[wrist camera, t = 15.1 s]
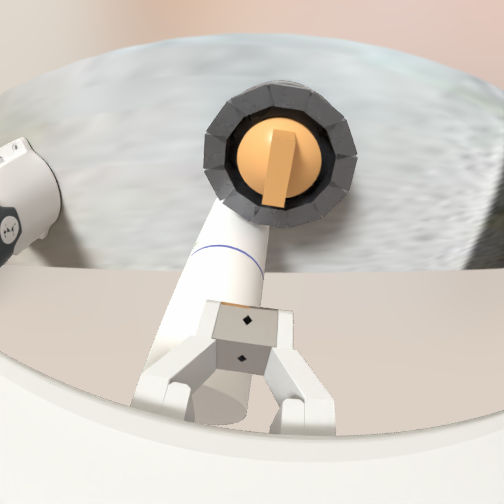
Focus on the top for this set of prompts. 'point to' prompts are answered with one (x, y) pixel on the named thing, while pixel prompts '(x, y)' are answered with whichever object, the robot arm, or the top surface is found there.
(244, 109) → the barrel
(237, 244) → the cylindrical container
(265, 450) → the robot arm
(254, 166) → the cap
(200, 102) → the top surface
